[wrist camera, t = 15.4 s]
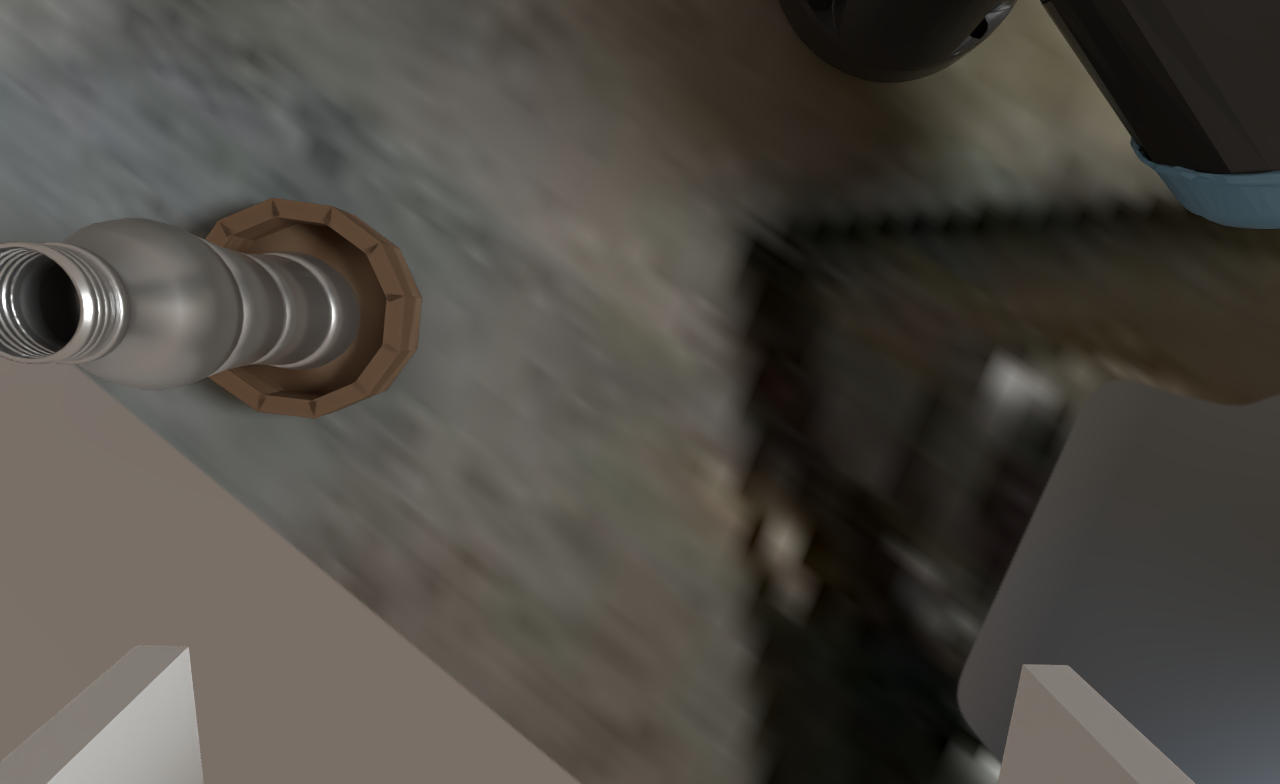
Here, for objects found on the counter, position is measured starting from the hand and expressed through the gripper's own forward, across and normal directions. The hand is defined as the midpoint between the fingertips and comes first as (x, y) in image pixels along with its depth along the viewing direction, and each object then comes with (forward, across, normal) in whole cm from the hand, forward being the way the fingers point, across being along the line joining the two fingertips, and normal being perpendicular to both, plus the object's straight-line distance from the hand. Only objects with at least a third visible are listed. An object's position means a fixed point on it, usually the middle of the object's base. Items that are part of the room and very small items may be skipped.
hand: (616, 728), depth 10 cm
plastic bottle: (+32, -18, +2) cm, 36 cm away
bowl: (+32, -18, +2) cm, 37 cm away
